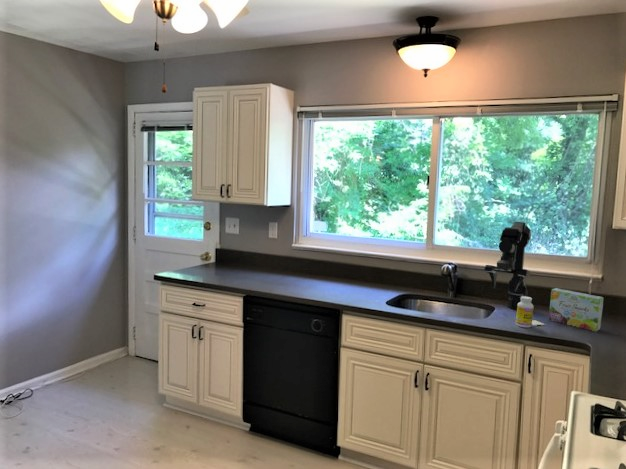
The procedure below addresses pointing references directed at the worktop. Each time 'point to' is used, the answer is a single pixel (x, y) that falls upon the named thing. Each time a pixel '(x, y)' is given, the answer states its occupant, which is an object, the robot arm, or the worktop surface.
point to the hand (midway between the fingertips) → (504, 289)
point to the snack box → (576, 309)
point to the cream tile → (536, 323)
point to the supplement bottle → (524, 312)
